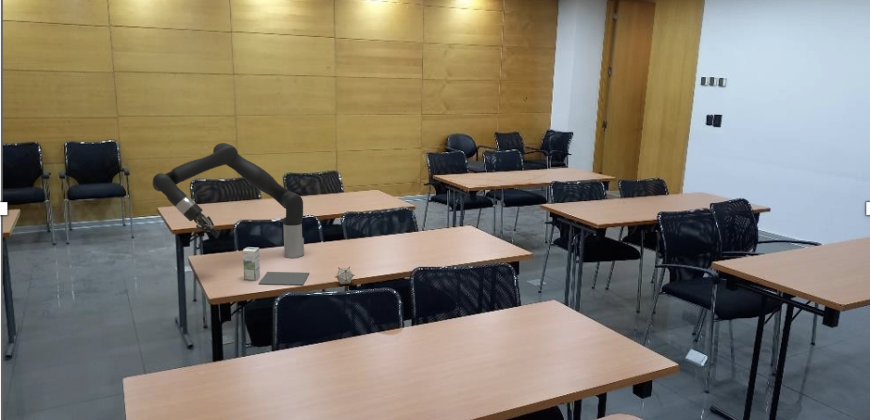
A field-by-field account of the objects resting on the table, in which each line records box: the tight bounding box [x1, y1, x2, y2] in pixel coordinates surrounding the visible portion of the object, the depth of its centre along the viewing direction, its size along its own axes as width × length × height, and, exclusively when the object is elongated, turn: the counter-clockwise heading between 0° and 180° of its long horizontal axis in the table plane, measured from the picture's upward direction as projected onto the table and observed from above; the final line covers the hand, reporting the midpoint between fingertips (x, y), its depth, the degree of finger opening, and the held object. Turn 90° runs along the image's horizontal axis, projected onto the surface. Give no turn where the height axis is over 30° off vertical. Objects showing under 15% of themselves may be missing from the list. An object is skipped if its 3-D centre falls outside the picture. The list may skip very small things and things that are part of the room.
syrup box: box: [242, 246, 261, 281], centre depth 287 cm, size 6×6×14 cm
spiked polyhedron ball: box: [334, 266, 356, 287], centre depth 284 cm, size 9×8×10 cm
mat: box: [258, 271, 310, 287], centre depth 289 cm, size 20×16×1 cm
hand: (217, 235), depth 284 cm, fingers closed
